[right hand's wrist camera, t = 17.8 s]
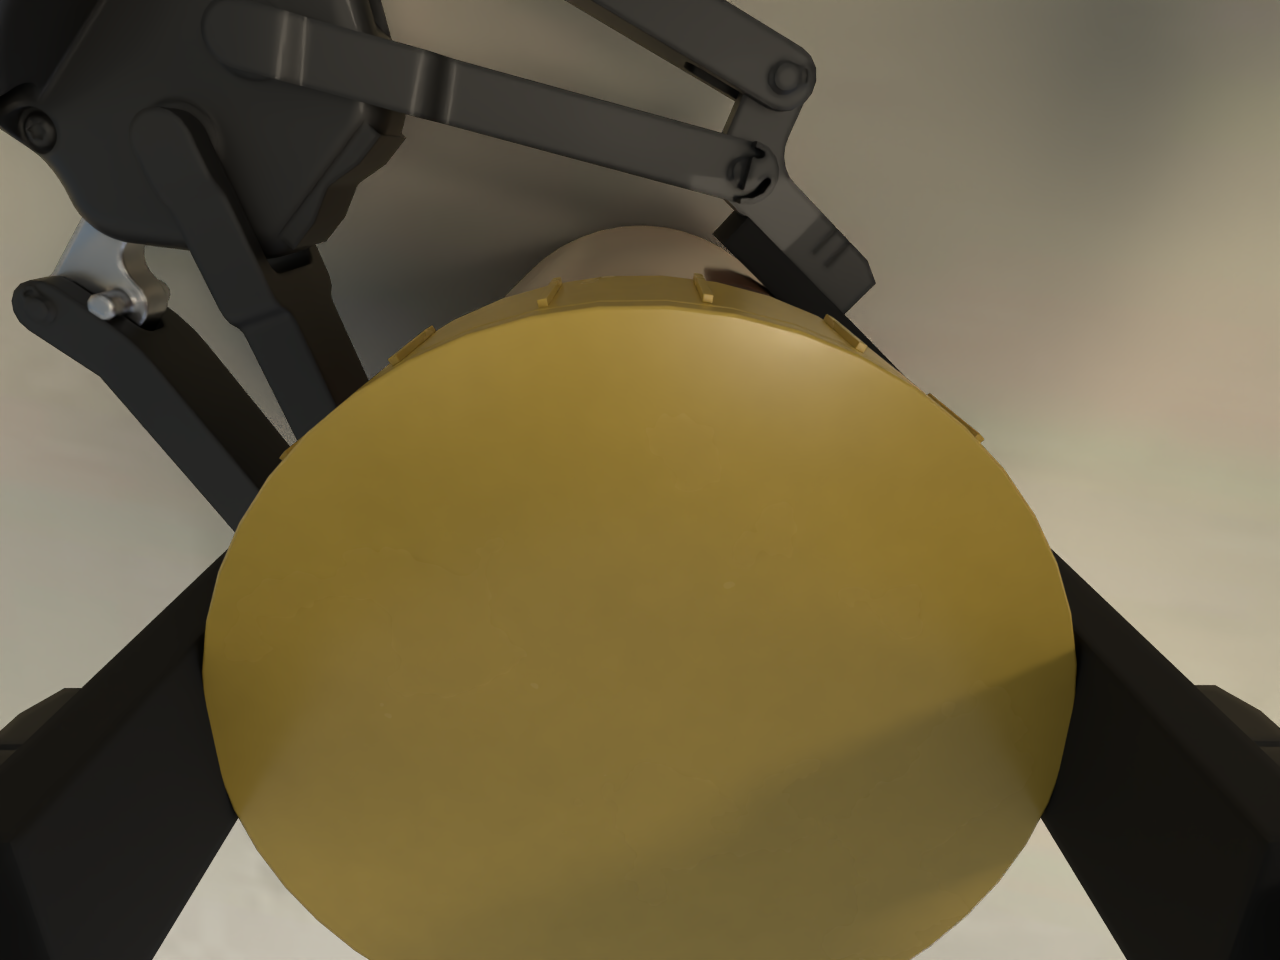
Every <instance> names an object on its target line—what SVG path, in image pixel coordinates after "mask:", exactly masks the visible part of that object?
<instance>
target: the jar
mask: <svg viewBox="0 0 1280 960" xmlns="http://www.w3.org/2000/svg"><path fill="white" fill-rule="evenodd" d="M694 273H699V274H702V275H703V277H704V279H705V280H706V281H711V282H718V283H722V284H726V285H729V286H733V287H737V288H741V289H745V290H748V291H752V292H756V293H760V294H764V295H767V296H770V297H773V298H775V299H777V298H776V297H775V296H774V295H773V294H772V293H771V292H770V291H769V290H768V289H767V288H766V287H765V286H764V285H763V284H762V283H761V282H760V281H759V280H758V279H757V278H756V277H755V276H754V275H753V274H752V273H751V272H750V271H749V270H748V269H747V268H746V267H745V266H744V265H743V264H742V263H741V262H740V261H739V260H738V259H736V258H735V257H734V256H732V255H731V254H730V253H728V252H727V251H726V250H724V249H722V248H720V247H719V246H717V245H715V244H713V243H711V242H709V241H708V240H706V239H703V238H700V237H698V236H695V235H692V234H690V233H687V232H684V231H679V230H675V229H671V228H666V227H657V226H646V225H640V226H621V227H616V228H611V229H605V230H600V231H597V232H594V233H591V234H588V235H585V236H582V237H580V238H578V239H576V240H574V241H572V242H570V243H568V244H566V245H564V246H562V247H560V248H559V249H557V250H556V251H554V252H553V253H551V254H550V255H548V256H547V257H545V258H544V259H543V260H542V261H541V262H539V263H538V264H537V265H536V266H535V267H534V268H533V269H532V270H531V271H529V272H528V273H527V274H526V275H525V276H524V277H523V278H522V279H521V280H520V281H519V282H518V283H517V285H516V286H515V287H514V288H513V289H512V290H511V291H510V292H509V293H508V294H507V295H506V296H505V297H504V298H506V297H510V296H513V295H517V294H520V293H524V292H527V291H531V290H534V289H538V288H541V287H545V286H548V284H549V283H550V282H551V280H552V279H553V278H557V277H561V279H562V283H563V282H570V281H577V280H584V279H591V278H598V277H604V276H659V275H663V276H671V277H679V278H687V279H693V276H694Z"/></svg>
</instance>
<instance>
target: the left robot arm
mask: <svg viewBox="0 0 1280 960" xmlns="http://www.w3.org/2000/svg"><path fill="white" fill-rule="evenodd" d="M565 1H567V2H569V3H570V4H572V5H574V6H575V7H577V8H579V9H580V10H582V11H584V12H585V13H587V14H589V15H591V16H592V17H594V18H596V19H597V20H599V21H601V22H602V23H604V24H606V25H607V26H609V27H611V28H612V29H614V30H616V31H618V32H619V33H621V34H623V35H624V36H626V37H628V38H629V39H631V40H633V41H634V42H636V43H638V44H639V45H641V46H643V47H644V48H646V49H648V50H650V51H651V52H653V53H655V54H656V55H658V56H660V57H661V58H663V59H665V60H666V61H668V62H670V63H671V64H673V65H675V66H676V67H678V68H680V69H682V70H683V71H685V72H687V73H688V74H690V75H692V76H693V77H695V78H697V79H698V80H700V81H702V82H703V83H705V84H707V85H709V86H710V87H712V88H714V89H715V90H717V91H719V92H720V93H722V94H724V95H725V96H727V97H729V98H730V99H732V100H734V101H735V103H734V106H733V108H732V110H731V113H730V115H729V117H728V120H727V122H726V125H725V127H724V129H723V132H722V133H720V132H716V131H712V130H709V129H705V128H702V127H698V126H694V125H691V124H687V123H683V122H680V121H676V120H673V119H669V118H665V117H662V116H658V115H654V114H651V113H647V112H644V111H640V110H636V109H633V108H629V107H625V106H622V105H618V104H615V103H611V102H607V101H604V100H600V99H596V98H593V97H589V96H586V95H582V94H578V93H575V92H571V91H567V90H564V89H560V88H557V87H553V86H549V85H546V84H542V83H538V82H535V81H531V80H528V79H524V78H520V77H517V76H513V75H510V74H506V73H502V72H499V71H495V70H491V69H488V68H484V67H481V66H477V65H473V64H470V63H466V62H462V61H459V60H455V59H452V58H449V57H446V56H443V55H440V54H437V53H434V52H430V51H427V50H424V49H420V48H417V47H413V46H410V45H406V44H402V43H399V42H395V41H392V40H391V36H390V32H389V28H388V25H387V21H386V17H385V13H384V10H383V6H382V2H381V0H0V129H1V130H3V131H4V132H6V133H7V134H9V135H10V136H12V137H13V138H15V139H16V140H18V141H19V142H21V143H22V144H24V145H25V146H27V147H28V148H30V149H31V150H33V151H34V152H35V153H37V154H38V155H39V156H40V157H41V158H42V159H43V160H44V161H45V162H46V163H47V164H48V165H49V166H50V168H51V169H52V170H53V171H54V173H55V174H56V175H57V177H58V178H59V180H60V181H61V183H62V185H63V186H64V188H65V190H66V192H67V194H68V195H69V197H70V199H71V201H72V203H73V205H74V207H75V208H76V210H77V211H78V212H79V214H80V215H81V216H82V218H81V220H80V222H79V224H78V226H77V228H76V230H75V232H74V234H73V236H72V237H71V239H70V241H69V243H68V245H67V247H66V249H65V251H64V253H63V255H62V256H61V258H60V260H59V262H58V264H57V266H56V268H55V270H54V272H53V273H52V274H51V275H50V276H49V277H44V278H39V279H34V280H29V281H27V282H24V283H21V284H20V285H19V286H18V287H17V288H16V289H15V290H14V293H13V297H12V305H13V311H14V313H15V315H16V316H17V318H18V320H19V322H20V323H21V324H23V325H24V326H25V327H26V328H27V329H28V330H29V331H31V332H32V333H34V334H36V335H37V336H39V337H40V338H42V339H43V340H45V341H46V342H48V343H49V344H51V345H52V346H54V347H55V348H57V349H59V350H60V351H62V352H63V353H65V354H66V355H68V356H69V357H71V358H72V359H74V360H75V361H77V362H78V363H80V364H81V365H83V366H85V367H86V368H88V369H89V370H91V371H92V372H94V373H95V374H97V375H98V376H100V377H101V378H102V380H103V381H104V382H105V383H106V384H107V385H108V386H109V388H110V389H111V390H112V391H113V392H114V393H115V395H116V396H117V397H118V398H119V399H120V400H121V401H122V403H123V404H124V405H125V406H126V407H127V408H128V410H129V411H130V412H131V413H132V414H133V415H134V416H135V418H136V419H137V420H138V421H139V422H140V423H141V424H142V426H143V427H144V428H145V429H146V430H147V431H148V433H149V434H150V435H151V436H152V437H153V438H154V439H155V441H156V442H157V443H158V444H159V445H160V446H161V448H162V449H163V450H164V451H165V452H166V453H167V454H168V456H169V457H170V458H171V459H172V460H173V461H174V463H175V464H176V465H177V466H178V467H179V468H180V469H181V471H182V472H183V473H184V474H185V475H186V476H187V477H188V479H189V480H190V481H191V482H192V483H193V484H194V486H195V487H196V488H197V489H198V490H199V491H200V492H201V494H202V495H203V496H204V497H205V498H206V499H207V501H208V502H209V503H210V504H211V505H212V506H213V507H214V509H215V510H216V511H217V512H218V513H219V514H220V516H221V517H222V518H223V519H224V520H225V521H226V522H227V524H228V525H229V526H230V527H231V528H232V529H233V531H234V532H236V529H237V527H238V525H239V522H240V521H241V519H242V518H243V516H244V514H245V513H246V511H247V510H248V508H249V507H250V505H251V503H252V502H253V500H254V499H255V497H256V496H257V494H258V492H259V491H260V489H261V488H262V486H263V484H264V483H265V481H266V480H267V478H268V477H269V475H270V474H271V473H272V472H273V471H274V470H275V468H276V467H277V466H278V465H279V464H280V463H281V462H282V460H281V459H280V456H281V455H282V454H283V452H284V451H286V450H287V449H288V448H289V447H290V446H289V445H288V443H287V442H286V441H285V440H284V438H283V437H282V436H281V435H280V434H279V432H278V431H277V430H276V429H275V427H274V426H273V425H272V424H271V422H270V421H269V420H268V419H267V418H266V416H265V415H264V414H263V413H262V411H261V410H260V409H259V408H258V406H257V405H256V404H255V403H254V401H253V400H252V399H251V398H250V397H249V395H248V394H247V393H246V392H245V390H244V389H243V388H242V387H241V385H240V384H239V383H238V382H237V380H236V379H235V378H234V377H233V376H232V374H231V373H230V372H229V371H228V369H227V368H226V367H225V366H224V364H223V363H222V362H221V361H220V359H219V358H218V357H217V356H216V355H215V353H214V352H213V351H212V350H211V348H210V347H209V346H208V345H207V344H206V342H205V341H204V340H203V339H202V338H201V337H200V336H199V335H198V333H197V332H196V331H195V330H194V329H193V328H192V327H191V326H190V325H189V324H187V323H186V322H185V321H184V320H183V319H182V318H181V317H180V316H179V315H177V314H176V313H175V312H174V311H172V310H171V309H170V308H168V307H167V305H168V300H169V298H170V290H169V288H168V286H167V285H166V284H165V283H164V282H162V281H161V280H158V279H157V278H156V277H155V276H154V275H153V274H152V273H151V272H150V270H149V268H148V266H147V264H146V261H145V257H144V248H145V245H151V246H159V247H167V248H175V249H182V250H190V252H191V254H192V256H193V258H194V260H195V262H196V264H197V266H198V268H199V270H200V272H201V274H202V276H203V278H204V280H205V282H206V284H207V286H208V288H209V290H210V292H211V294H212V296H213V298H214V300H215V302H216V304H217V306H218V308H219V310H220V311H221V313H222V314H223V316H224V318H225V319H226V320H227V321H228V322H229V323H230V324H232V325H233V326H235V327H237V328H238V329H240V330H241V331H242V332H243V333H244V335H245V337H246V338H247V340H248V342H249V344H250V346H251V348H252V350H253V352H254V355H255V357H256V359H257V361H258V363H259V365H260V367H261V369H262V371H263V373H264V375H265V377H266V379H267V381H268V383H269V385H270V387H271V389H272V391H273V393H274V395H275V397H276V399H277V401H278V403H279V405H280V407H281V409H282V411H283V413H284V415H285V417H286V419H287V421H288V423H289V425H290V427H291V429H292V431H293V433H294V435H295V437H296V439H297V441H298V440H299V439H300V438H301V437H303V436H304V435H305V434H306V433H307V432H308V431H309V430H311V429H312V428H313V427H314V426H315V425H316V424H318V423H319V422H320V421H321V420H322V419H324V418H325V417H326V416H327V415H328V414H330V413H331V412H332V411H333V410H334V409H335V408H337V407H338V406H339V405H340V404H341V403H343V402H344V401H345V400H346V399H347V398H348V397H350V396H351V395H352V394H353V393H354V392H356V391H357V390H358V389H359V388H361V387H362V386H363V385H364V384H365V383H367V382H368V381H369V380H368V378H367V376H366V374H365V372H364V369H363V367H362V365H361V363H360V360H359V358H358V356H357V354H356V352H355V349H354V347H353V345H352V343H351V341H350V338H349V336H348V334H347V332H346V330H345V327H344V325H343V323H342V321H341V318H340V316H339V314H338V312H337V310H336V307H335V305H334V303H333V300H332V297H331V280H330V277H329V274H328V271H327V269H326V267H325V264H324V262H323V260H322V258H321V256H320V253H319V251H318V249H317V247H316V244H317V243H321V242H325V241H327V239H328V238H329V237H330V236H331V234H332V233H333V232H334V230H335V229H336V228H337V226H338V225H339V224H340V223H341V221H342V220H343V219H344V217H345V216H346V213H347V211H348V208H349V205H350V203H351V200H352V198H353V195H354V193H355V190H356V187H357V185H358V184H359V183H360V182H361V181H363V180H364V179H365V178H367V177H368V176H370V175H371V174H372V173H374V172H375V171H377V170H378V169H379V168H381V167H382V166H384V165H385V164H386V163H387V162H388V161H389V159H390V158H391V157H392V155H393V154H394V153H395V152H396V150H397V149H398V148H399V146H400V145H401V144H402V142H403V141H404V140H405V139H406V137H405V136H404V135H403V134H402V133H401V131H402V129H403V125H404V121H405V115H406V114H408V115H412V116H415V117H419V118H423V119H427V120H431V121H435V122H439V123H443V124H447V125H451V126H454V127H458V128H462V129H465V130H469V131H473V132H477V133H480V134H484V135H488V136H492V137H495V138H499V139H503V140H506V141H510V142H514V143H518V144H521V145H525V146H529V147H532V148H536V149H540V150H544V151H547V152H551V153H555V154H558V155H562V156H566V157H570V158H573V159H577V160H581V161H584V162H588V163H592V164H596V165H599V166H603V167H607V168H610V169H614V170H618V171H622V172H625V173H629V174H633V175H636V176H640V177H644V178H648V179H651V180H655V181H659V182H663V183H666V184H670V185H674V186H677V187H681V188H685V189H689V190H692V191H696V192H700V193H703V194H707V195H711V196H715V197H718V198H722V199H724V200H725V201H726V202H727V203H728V204H729V205H730V206H731V207H732V209H733V210H734V211H733V213H732V214H731V215H730V216H729V217H728V218H727V219H726V220H725V221H724V222H723V223H722V224H721V225H720V227H719V228H718V229H717V230H716V231H715V232H714V233H713V235H714V236H715V237H716V238H717V239H718V240H719V241H720V242H721V243H722V244H723V245H724V246H725V247H726V248H727V249H728V250H729V251H730V252H731V253H732V254H733V255H734V256H735V257H736V258H737V259H738V260H739V261H740V262H741V263H742V264H743V265H744V266H745V267H746V268H747V269H748V270H749V271H750V272H751V273H752V274H753V275H754V276H755V277H756V278H757V279H758V280H759V281H760V282H761V283H762V284H763V285H764V286H765V287H766V288H767V289H768V290H769V291H770V292H771V293H772V294H773V295H774V296H775V297H776V298H777V299H778V300H780V301H782V302H785V303H787V304H790V305H792V306H794V307H797V308H799V309H802V310H804V311H806V312H809V313H811V314H814V315H816V316H818V317H820V318H822V319H824V317H825V316H826V314H828V315H830V316H832V317H833V318H835V319H836V320H837V321H838V322H839V323H841V324H842V325H843V326H844V327H845V328H847V329H848V330H849V331H850V332H851V333H853V334H854V335H855V336H856V337H857V338H859V339H860V340H861V341H862V342H863V343H865V344H866V345H867V347H869V348H870V349H871V350H872V351H874V352H875V353H876V354H877V355H879V356H880V357H881V358H882V359H884V360H885V361H886V362H887V363H889V364H890V365H891V366H892V367H894V368H895V369H896V370H897V371H899V370H898V369H897V368H896V367H895V366H894V365H893V364H892V363H891V362H890V361H889V360H888V359H887V358H886V357H885V356H884V355H883V354H882V353H881V352H880V351H879V350H878V349H877V348H876V346H875V345H874V344H873V343H872V342H871V341H870V340H869V339H868V338H867V337H866V336H865V335H864V334H863V333H862V332H861V331H860V330H859V329H858V328H857V327H856V326H855V325H854V324H853V323H852V322H851V321H850V320H849V319H848V318H847V317H846V316H845V315H844V314H845V313H846V312H847V311H848V310H849V309H850V308H851V307H852V306H853V305H854V304H855V303H856V302H857V301H858V300H859V299H860V298H861V297H862V296H863V295H864V294H865V293H866V292H868V291H869V290H870V289H871V288H872V287H873V286H874V285H875V284H876V283H875V280H874V277H873V274H872V272H871V269H870V266H869V263H868V261H867V260H866V259H865V258H864V256H863V255H862V254H861V253H860V252H859V251H858V250H857V249H856V248H855V247H854V246H853V245H852V244H851V243H850V242H849V241H848V240H847V239H846V237H845V236H844V235H843V234H842V233H841V232H840V231H839V230H838V229H837V228H836V227H835V226H834V225H833V224H832V223H831V222H830V221H829V220H828V219H827V217H826V216H825V215H824V214H823V213H822V212H821V211H820V210H819V209H818V208H817V207H816V206H815V205H814V204H813V203H812V202H811V201H810V200H809V198H808V197H807V196H806V195H805V194H804V193H803V192H802V191H801V190H800V189H799V188H798V187H797V186H796V185H795V184H794V182H793V181H792V180H791V178H790V177H789V175H788V173H787V170H786V168H785V161H784V152H785V146H786V142H787V139H788V137H789V135H790V132H791V130H792V128H793V126H794V123H795V121H796V119H797V117H798V115H799V112H800V110H801V108H802V106H803V104H804V102H805V101H806V100H807V99H808V97H809V96H810V95H811V94H812V91H813V89H814V86H815V83H816V67H815V65H814V62H813V60H812V58H811V56H810V55H809V54H808V53H807V52H806V51H805V50H804V49H803V48H802V47H800V46H799V45H797V44H795V43H794V42H792V41H791V40H789V39H787V38H786V37H784V36H782V35H781V34H779V33H778V32H776V31H774V30H773V29H771V28H769V27H768V26H766V25H765V24H763V23H761V22H760V21H758V20H756V19H755V18H753V17H752V16H750V15H748V14H747V13H745V12H743V11H742V10H740V9H739V8H737V7H735V6H734V5H732V4H730V3H729V2H727V1H726V0H565ZM899 372H900V371H899ZM900 373H901V372H900ZM901 374H902V373H901ZM902 375H903V374H902Z"/></svg>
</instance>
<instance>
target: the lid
mask: <svg viewBox="0 0 1280 960" xmlns="http://www.w3.org/2000/svg"><path fill="white" fill-rule="evenodd" d="M388 361H389V362H390V364H389V365H387V366H386V367H385V368H384V369H383V370H381V371H380V372H379V373H378V374H376V375H375V376H374V377H373V378H372V379H370V380H369V381H368V382H367V383H365V384H364V385H363V386H362V387H361V388H359V389H358V390H357V391H356V392H354V393H353V394H352V395H351V396H350V397H348V398H347V399H346V400H345V401H344V402H343V403H341V404H340V405H339V406H338V407H337V408H335V409H334V410H333V411H332V412H331V413H330V414H328V415H327V416H326V417H325V418H324V419H322V420H321V421H320V422H319V423H318V424H316V425H315V426H314V427H313V428H312V429H311V430H309V431H308V432H307V433H306V434H305V435H304V436H303V437H301V438H300V439H299V440H298V441H297V442H295V443H294V444H293V445H292V446H290V447H289V448H288V449H287V450H286V451H284V452H283V454H282V455H281V456H280V459H281V460H282V462H281V463H280V464H279V465H278V466H277V467H276V468H275V470H274V471H273V472H272V473H271V474H270V475H269V477H268V478H267V480H266V481H265V483H264V484H263V486H262V488H261V489H260V491H259V492H258V494H257V496H256V497H255V499H254V500H253V502H252V503H251V505H250V507H249V508H248V510H247V511H246V513H245V514H244V516H243V518H242V519H241V521H240V522H239V525H238V527H237V529H236V532H235V534H234V536H233V539H232V541H231V543H230V546H229V548H228V550H227V553H226V555H225V557H224V560H223V562H222V564H221V567H220V569H219V571H218V575H217V579H216V583H215V587H214V591H213V595H212V599H211V603H210V607H209V612H208V616H207V620H206V629H205V641H204V653H203V665H202V679H203V690H204V695H205V701H206V706H207V711H208V715H209V720H210V725H211V729H212V734H213V738H214V743H215V747H216V752H217V756H218V761H219V765H220V770H221V774H222V778H223V782H224V786H225V789H226V791H227V794H228V796H229V799H230V801H231V804H232V806H233V809H234V811H235V812H236V814H237V816H238V818H239V819H240V821H241V823H242V825H243V826H244V828H245V830H246V832H247V833H248V835H249V837H250V839H251V841H252V842H253V844H254V846H255V848H256V849H257V851H258V852H259V853H260V855H261V856H262V857H263V859H264V860H265V861H266V863H267V864H268V865H269V867H270V868H271V869H272V871H273V872H274V873H275V875H276V876H277V877H278V878H279V880H280V881H281V882H282V884H283V885H284V886H285V888H286V889H287V890H288V891H289V892H290V893H291V894H292V895H293V896H294V897H295V898H296V899H297V900H298V901H299V902H300V903H301V904H302V905H303V906H304V907H305V908H306V909H307V910H308V911H309V912H310V913H311V914H312V915H313V916H314V917H315V918H316V919H317V920H318V921H319V922H320V923H321V924H323V925H324V926H325V927H326V928H327V929H329V930H330V931H331V932H332V933H334V934H335V935H336V936H337V937H339V938H340V939H341V940H342V941H343V942H345V943H346V944H347V945H348V946H350V947H351V948H352V949H353V950H355V951H356V952H358V953H359V954H361V955H363V956H364V957H366V958H367V959H369V960H911V959H912V958H914V957H915V956H917V955H918V954H920V953H921V952H923V951H924V950H926V949H927V948H929V947H930V946H932V945H933V944H934V943H935V942H936V941H938V940H939V939H940V938H941V937H942V936H944V935H945V934H946V933H947V932H948V931H950V930H951V929H952V928H953V927H954V926H955V925H957V924H958V923H959V922H960V921H961V920H963V919H964V918H965V917H966V916H967V915H968V914H969V913H970V912H971V911H972V910H973V909H974V908H975V907H976V906H977V905H978V904H979V902H980V901H981V900H982V899H983V898H984V897H985V896H986V895H987V894H988V893H989V892H990V891H991V890H992V889H993V888H994V887H995V885H996V884H997V883H998V882H999V881H1000V880H1001V878H1002V877H1003V875H1004V874H1005V873H1006V871H1007V870H1008V869H1009V867H1010V866H1011V864H1012V863H1013V862H1014V860H1015V859H1016V858H1017V856H1018V855H1019V853H1020V852H1021V851H1022V849H1023V848H1024V847H1025V845H1026V844H1027V842H1028V840H1029V838H1030V836H1031V834H1032V833H1033V831H1034V829H1035V827H1036V825H1037V823H1038V821H1039V820H1040V818H1041V816H1042V814H1043V812H1044V810H1045V809H1046V807H1047V805H1048V803H1049V800H1050V797H1051V795H1052V792H1053V789H1054V787H1055V784H1056V780H1057V776H1058V772H1059V769H1060V764H1061V760H1062V755H1063V750H1064V746H1065V741H1066V737H1067V732H1068V728H1069V723H1070V719H1071V714H1072V710H1073V704H1074V698H1075V690H1076V670H1077V661H1076V652H1075V643H1074V634H1073V625H1072V616H1071V610H1070V607H1069V603H1068V600H1067V596H1066V593H1065V589H1064V585H1063V582H1062V578H1061V575H1060V571H1059V567H1058V564H1057V561H1056V559H1055V557H1054V555H1053V553H1052V551H1051V548H1050V546H1049V544H1048V542H1047V540H1046V538H1045V536H1044V533H1043V531H1042V529H1041V527H1040V525H1039V523H1038V520H1037V518H1036V516H1035V514H1034V513H1033V511H1032V510H1031V508H1030V507H1029V505H1028V504H1027V502H1026V501H1025V499H1024V498H1023V496H1022V495H1021V493H1020V492H1019V490H1018V489H1017V487H1016V486H1015V484H1014V483H1013V481H1012V480H1011V478H1010V477H1009V476H1008V474H1007V473H1006V471H1005V470H1004V468H1003V467H1002V466H1001V465H1000V464H999V463H998V462H997V461H996V460H995V458H994V457H993V456H992V455H991V454H990V453H989V452H988V451H987V450H986V449H985V448H984V447H983V445H982V444H981V442H982V441H983V440H984V438H983V437H982V436H981V435H980V434H979V433H978V432H977V431H976V430H975V429H973V428H972V427H971V426H970V425H968V424H967V423H966V422H965V421H963V420H962V419H961V418H960V417H959V416H957V415H956V414H955V413H954V412H952V411H951V410H950V409H949V408H948V407H946V406H945V405H944V404H943V403H941V402H940V401H939V400H938V399H936V398H935V397H934V396H933V395H932V394H930V393H929V394H928V395H927V394H925V393H924V392H923V391H922V390H921V389H919V388H918V387H917V386H916V385H914V384H913V383H912V382H911V381H910V380H908V379H907V378H906V377H905V376H904V375H902V374H901V373H900V372H899V371H897V370H896V369H895V368H894V367H892V366H891V365H890V364H889V363H887V362H886V361H885V360H884V359H882V358H881V357H880V356H879V355H877V354H876V353H875V352H874V351H872V350H871V349H870V348H869V347H867V345H866V344H865V343H863V342H862V341H861V340H860V339H859V338H857V337H856V336H855V335H854V334H853V333H851V332H850V331H849V330H848V329H847V328H845V327H844V326H843V325H842V324H841V323H839V322H838V321H837V320H836V319H835V318H833V317H832V316H830V315H828V314H826V316H825V317H824V319H822V318H820V317H818V316H816V315H814V314H811V313H809V312H806V311H804V310H802V309H799V308H797V307H794V306H792V305H790V304H787V303H785V302H782V301H780V300H778V299H775V298H773V297H770V296H767V295H764V294H760V293H756V292H752V291H748V290H745V289H741V288H737V287H733V286H729V285H726V284H722V283H718V282H711V281H706V280H705V279H704V277H703V275H702V274H699V273H694V276H693V279H687V278H679V277H671V276H663V275H659V276H604V277H598V278H591V279H584V280H577V281H570V282H563V283H562V279H561V277H557V278H553V279H552V280H551V282H550V283H549V284H548V286H545V287H541V288H538V289H534V290H531V291H527V292H524V293H520V294H517V295H513V296H510V297H506V298H503V299H500V300H498V301H496V302H493V303H491V304H489V305H487V306H484V307H482V308H480V309H477V310H475V311H473V312H471V313H468V314H466V315H464V316H462V317H459V318H457V319H455V320H453V321H451V322H450V323H448V324H446V325H445V326H443V327H442V328H440V329H438V330H437V331H436V330H435V329H434V327H433V326H430V327H428V328H427V329H425V330H424V331H423V332H421V333H420V334H419V335H418V336H416V337H415V338H414V339H413V340H411V341H410V342H409V343H408V344H406V345H405V346H404V347H403V348H401V349H400V350H399V351H397V352H396V353H395V354H394V355H392V356H391V357H390V358H389V359H388Z"/></svg>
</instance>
